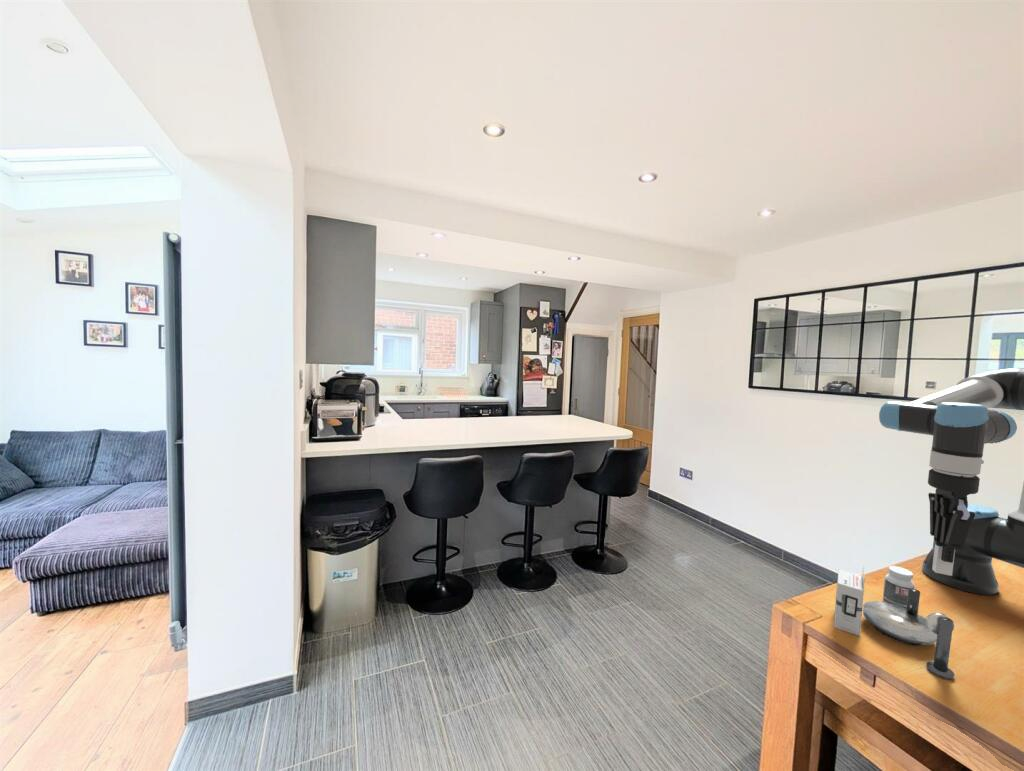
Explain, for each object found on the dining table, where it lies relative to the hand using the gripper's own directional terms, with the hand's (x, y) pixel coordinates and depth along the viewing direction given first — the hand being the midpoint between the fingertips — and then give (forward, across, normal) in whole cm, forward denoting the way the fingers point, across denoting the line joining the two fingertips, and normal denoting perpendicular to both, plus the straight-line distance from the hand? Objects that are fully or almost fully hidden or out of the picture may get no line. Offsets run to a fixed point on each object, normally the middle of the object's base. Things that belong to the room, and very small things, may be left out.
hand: (941, 572), depth 89 cm
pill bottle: (+19, +16, +1) cm, 25 cm away
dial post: (+18, -9, +2) cm, 21 cm away
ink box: (+19, +1, +16) cm, 24 cm away
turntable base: (+18, +3, +5) cm, 19 cm away
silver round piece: (+16, +3, +5) cm, 17 cm away
